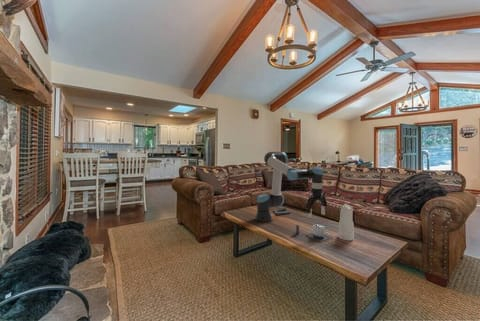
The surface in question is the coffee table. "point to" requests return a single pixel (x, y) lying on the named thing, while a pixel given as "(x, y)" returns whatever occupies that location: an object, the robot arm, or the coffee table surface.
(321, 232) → the grey octagonal holder
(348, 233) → the decorative vase
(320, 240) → the square peg base
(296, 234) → the stand
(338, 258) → the coffee table surface
